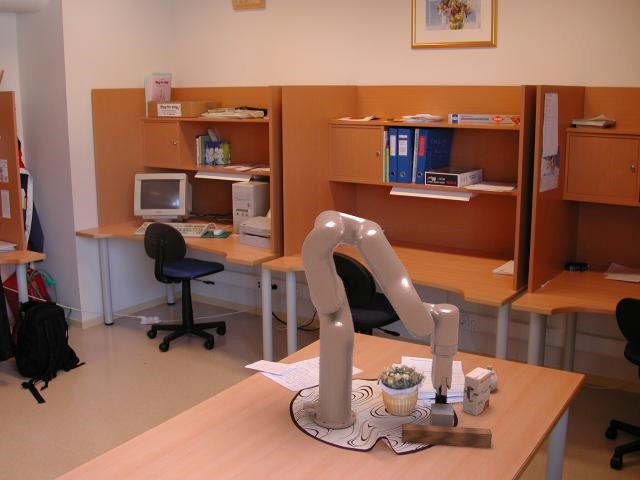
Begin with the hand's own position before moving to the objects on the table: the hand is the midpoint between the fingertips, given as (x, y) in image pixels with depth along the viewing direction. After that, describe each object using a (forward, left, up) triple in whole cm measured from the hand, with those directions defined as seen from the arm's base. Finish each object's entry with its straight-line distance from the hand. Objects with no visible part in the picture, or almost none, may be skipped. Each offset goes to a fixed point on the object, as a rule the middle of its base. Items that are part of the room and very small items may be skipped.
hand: (440, 406), depth 209 cm
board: (+1, -12, -4) cm, 13 cm away
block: (0, -5, -4) cm, 6 cm away
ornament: (+18, +22, -5) cm, 28 cm away
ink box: (+11, +9, -5) cm, 15 cm away
